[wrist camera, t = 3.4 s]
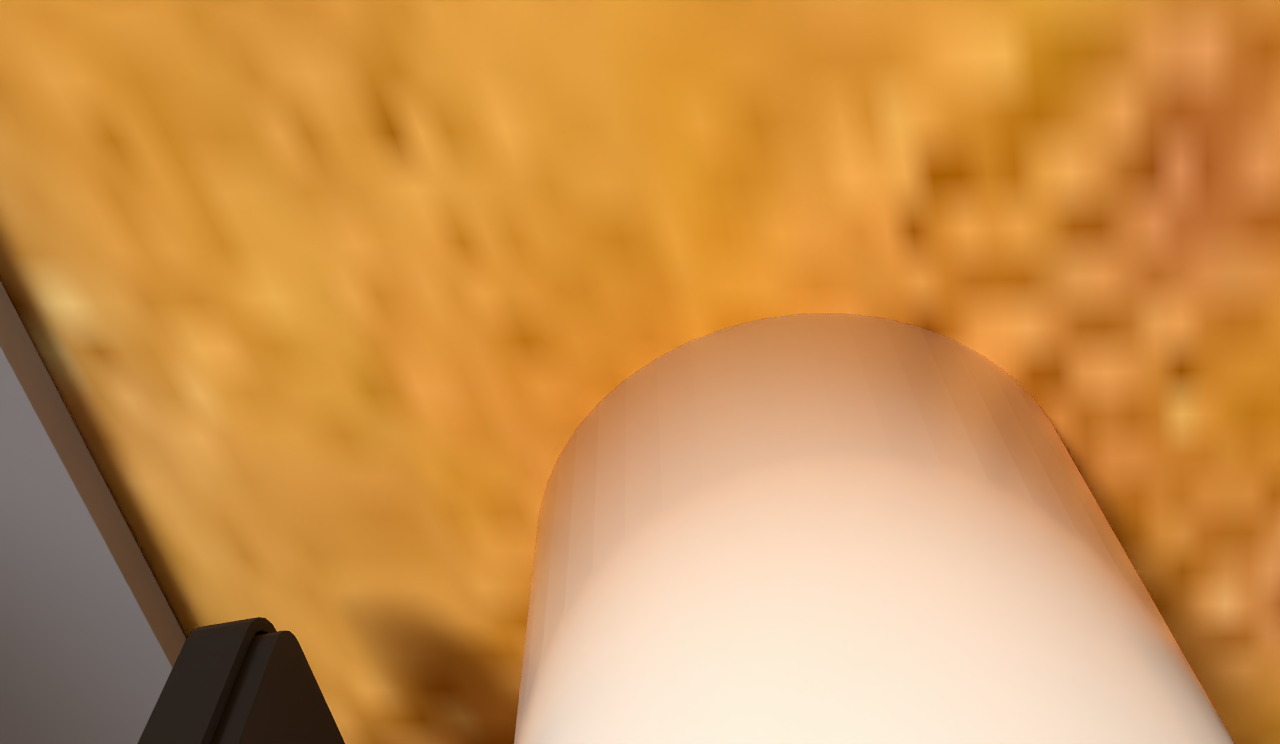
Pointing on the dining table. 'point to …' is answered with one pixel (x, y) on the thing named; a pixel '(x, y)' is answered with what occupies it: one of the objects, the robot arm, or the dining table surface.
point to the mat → (68, 576)
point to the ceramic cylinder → (837, 559)
